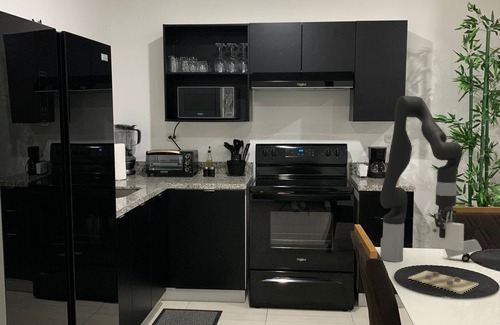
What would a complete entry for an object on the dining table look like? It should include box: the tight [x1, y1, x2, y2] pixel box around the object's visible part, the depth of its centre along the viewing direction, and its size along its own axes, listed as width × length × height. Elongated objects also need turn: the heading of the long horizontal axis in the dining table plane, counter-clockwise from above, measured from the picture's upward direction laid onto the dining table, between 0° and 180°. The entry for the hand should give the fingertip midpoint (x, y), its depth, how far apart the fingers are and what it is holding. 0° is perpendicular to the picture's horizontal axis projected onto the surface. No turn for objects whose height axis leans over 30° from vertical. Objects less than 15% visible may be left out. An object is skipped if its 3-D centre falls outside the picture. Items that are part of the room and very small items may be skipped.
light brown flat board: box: [407, 270, 480, 295], centre depth 198 cm, size 22×14×2 cm, turn 41°
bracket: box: [444, 238, 483, 263], centre depth 229 cm, size 4×10×15 cm
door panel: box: [430, 219, 465, 251], centre depth 195 cm, size 12×4×10 cm, turn 41°
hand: (444, 236), depth 196 cm, fingers closed on door panel, 3 cm apart
